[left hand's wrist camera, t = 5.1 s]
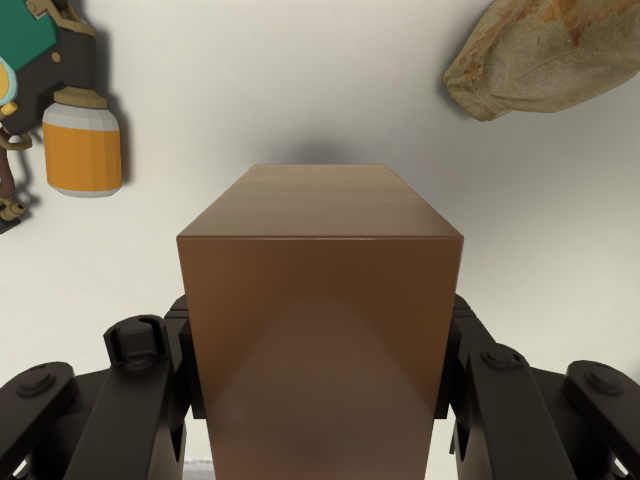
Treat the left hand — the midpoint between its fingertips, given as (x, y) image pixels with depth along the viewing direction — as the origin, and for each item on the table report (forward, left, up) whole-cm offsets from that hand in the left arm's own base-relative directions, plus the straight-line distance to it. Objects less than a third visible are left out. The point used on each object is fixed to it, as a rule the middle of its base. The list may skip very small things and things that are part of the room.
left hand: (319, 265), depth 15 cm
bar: (0, +7, -1) cm, 8 cm away
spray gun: (+21, -6, -13) cm, 25 cm away
